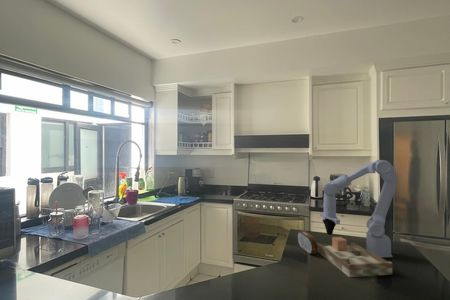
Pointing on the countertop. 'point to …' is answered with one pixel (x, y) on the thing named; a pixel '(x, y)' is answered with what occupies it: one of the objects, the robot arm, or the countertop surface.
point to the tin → (307, 242)
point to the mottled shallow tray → (356, 260)
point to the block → (339, 243)
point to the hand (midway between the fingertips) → (329, 234)
